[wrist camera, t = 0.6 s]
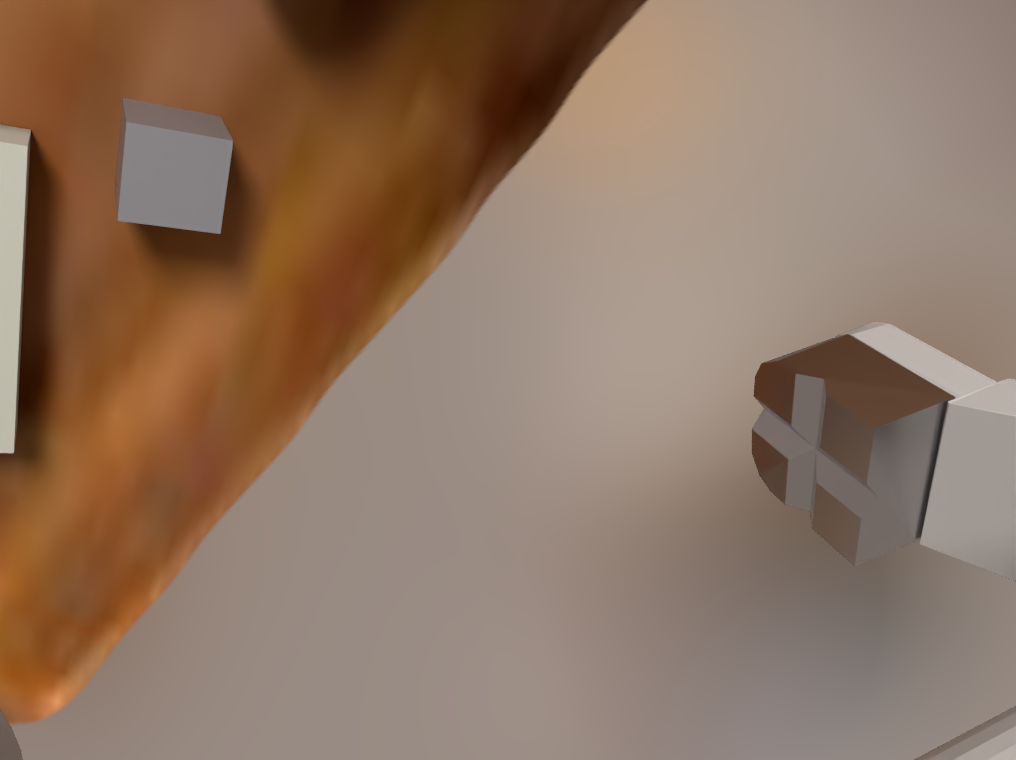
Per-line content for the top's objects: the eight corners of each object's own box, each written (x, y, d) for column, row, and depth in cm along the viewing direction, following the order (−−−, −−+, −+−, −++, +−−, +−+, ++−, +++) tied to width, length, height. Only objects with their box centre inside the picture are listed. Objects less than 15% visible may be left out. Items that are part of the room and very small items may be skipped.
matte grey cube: (122, 97, 42) (126, 121, 38) (219, 116, 44) (233, 141, 40) (114, 188, 43) (117, 220, 39) (208, 201, 45) (220, 233, 41)
